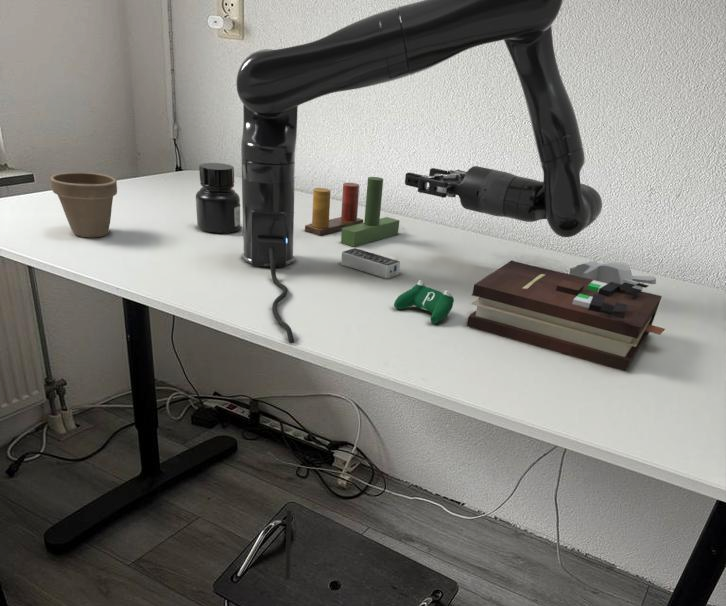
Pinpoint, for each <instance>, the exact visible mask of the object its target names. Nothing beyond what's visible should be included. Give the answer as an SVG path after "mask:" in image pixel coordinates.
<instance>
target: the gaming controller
mask: <svg viewBox="0 0 726 606" xmlns="http://www.w3.org/2000/svg"><path fill="white" fill-rule="evenodd" d="M454 302H455V298H454V296H453V295H452V293H451V292H450V291H449V290H448V289H445V290H444V292H443V291H440V290H438V289H434V288H432V287H429V286H427V285H426V284H425V283H424V282H423V281H422V280H421V279H420V280H418V281H417V283H416V284H415V285H413V287H412V288H410V289H408V290H406V291H404V292H402V293H401V294H400V295H398V296H397V298H396V299H395V301H394V302H393V307H394V308H395V309H396V310H404V309H408V308H410V307H413V306H414V307H416V309H419V310H424V311H427V312H429V313H430V314H431V316H430V323H432V324H434V325H436V324H438V323H439V322H441V321H442V320H444V319H445V318H446V317H447V316H448V315H449V313H451V310H452V309H453V306H454Z"/></svg>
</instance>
